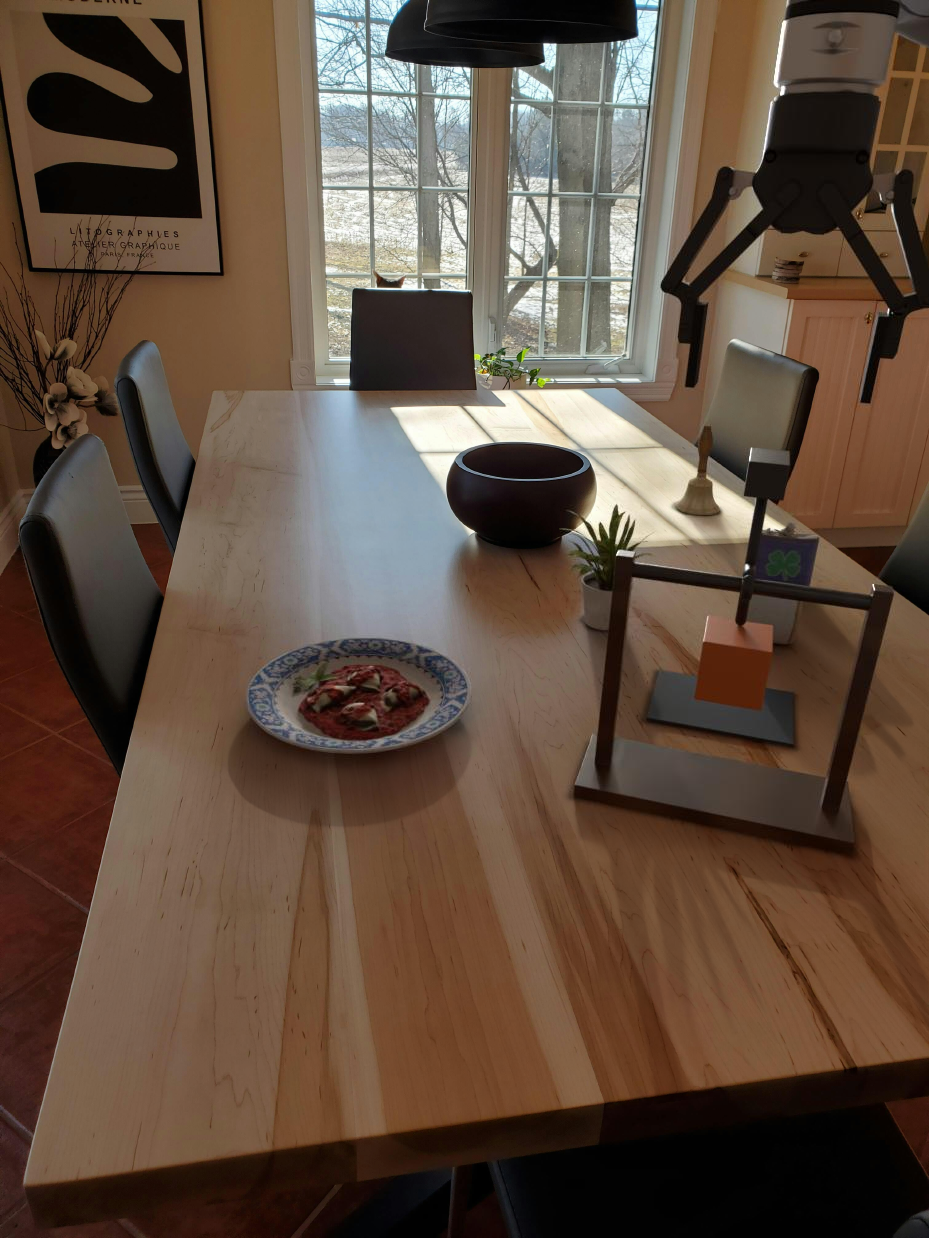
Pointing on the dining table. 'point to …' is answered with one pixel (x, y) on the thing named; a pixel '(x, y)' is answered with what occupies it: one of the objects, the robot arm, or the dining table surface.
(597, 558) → the house plant
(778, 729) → the mat
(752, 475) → the orange block with hook
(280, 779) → the dining table surface
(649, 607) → the dining table surface
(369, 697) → the ceramic plate
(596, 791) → the rack
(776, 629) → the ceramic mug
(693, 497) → the hand bell
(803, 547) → the flask
